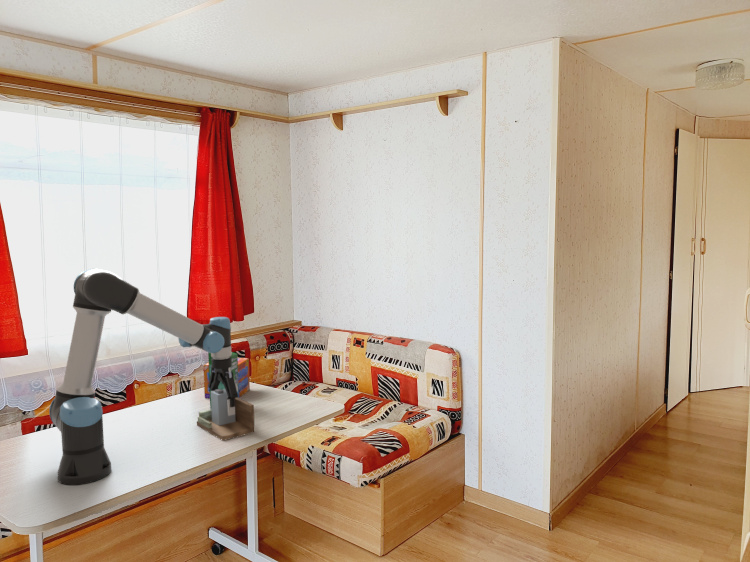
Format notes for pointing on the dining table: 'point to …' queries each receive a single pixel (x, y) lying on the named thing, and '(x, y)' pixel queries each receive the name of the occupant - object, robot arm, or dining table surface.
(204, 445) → the dining table surface
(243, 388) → the game box
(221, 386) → the milk carton
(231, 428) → the brown wooden l-shaped piece
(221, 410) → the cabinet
